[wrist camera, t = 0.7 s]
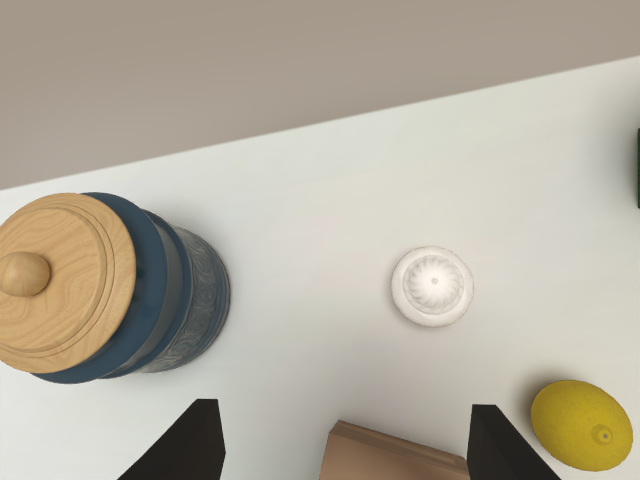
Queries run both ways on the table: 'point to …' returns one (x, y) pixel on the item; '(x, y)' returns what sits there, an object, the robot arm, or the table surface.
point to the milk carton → (639, 168)
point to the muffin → (432, 286)
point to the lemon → (581, 425)
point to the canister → (104, 290)
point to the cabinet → (385, 458)
